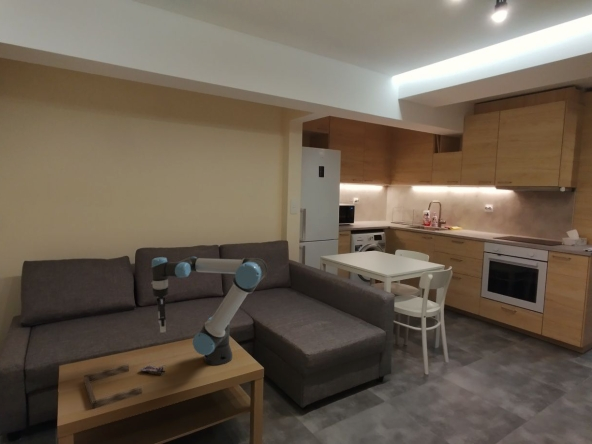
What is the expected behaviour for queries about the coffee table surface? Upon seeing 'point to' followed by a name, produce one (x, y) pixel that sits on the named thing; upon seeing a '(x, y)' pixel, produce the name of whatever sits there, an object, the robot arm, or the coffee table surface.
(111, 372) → the frame
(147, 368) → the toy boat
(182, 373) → the coffee table surface
